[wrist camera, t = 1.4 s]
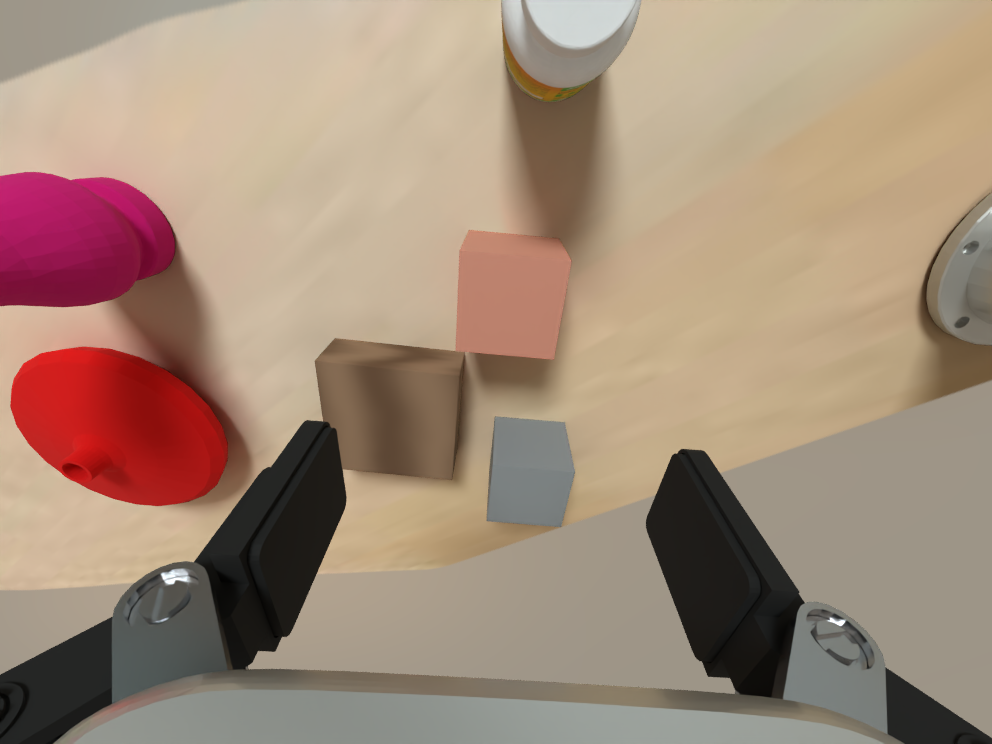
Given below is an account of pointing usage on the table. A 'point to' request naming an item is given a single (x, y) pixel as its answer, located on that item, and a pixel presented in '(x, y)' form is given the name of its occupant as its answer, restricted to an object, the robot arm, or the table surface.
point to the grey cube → (529, 472)
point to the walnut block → (392, 406)
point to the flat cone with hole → (119, 425)
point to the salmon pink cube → (511, 294)
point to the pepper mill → (76, 239)
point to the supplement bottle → (563, 42)
